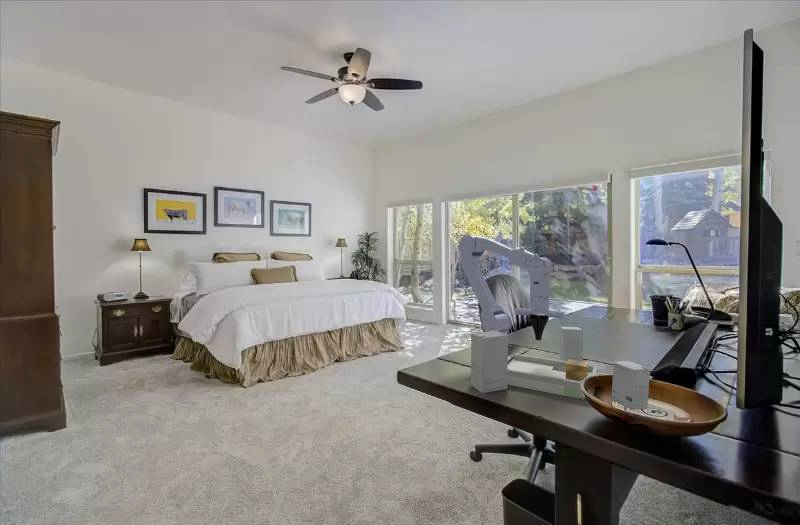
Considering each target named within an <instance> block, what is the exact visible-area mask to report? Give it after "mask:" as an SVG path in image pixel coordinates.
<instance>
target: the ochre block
mask: <svg viewBox="0 0 800 525" xmlns="http://www.w3.org/2000/svg"><path fill="white" fill-rule="evenodd" d="M588 365H589V362H588V361H584V360H583V361H577V360H570V359H568V361H567V363H566V378H567V379H573V380H578V381H581V380H583V379H584V378H586V377H587V376H588Z"/></svg>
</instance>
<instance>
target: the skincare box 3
mask: <svg viewBox="0 0 800 525" xmlns="http://www.w3.org/2000/svg"><path fill="white" fill-rule="evenodd" d="M650 376H651V369H650V368H647V367H645V366H643V365H640V364H638V363H635V362H633V361H630V360H622V361H621V360H619V361H613V369H612V384H611V385H612V386H611V399H610V400H612V401H615V402H617V403H618V404H621V405H623V406H625V407H627V408H629V409H630V410H635V409H647V410H648V404H649V393H650V392H649V388H650Z"/></svg>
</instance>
